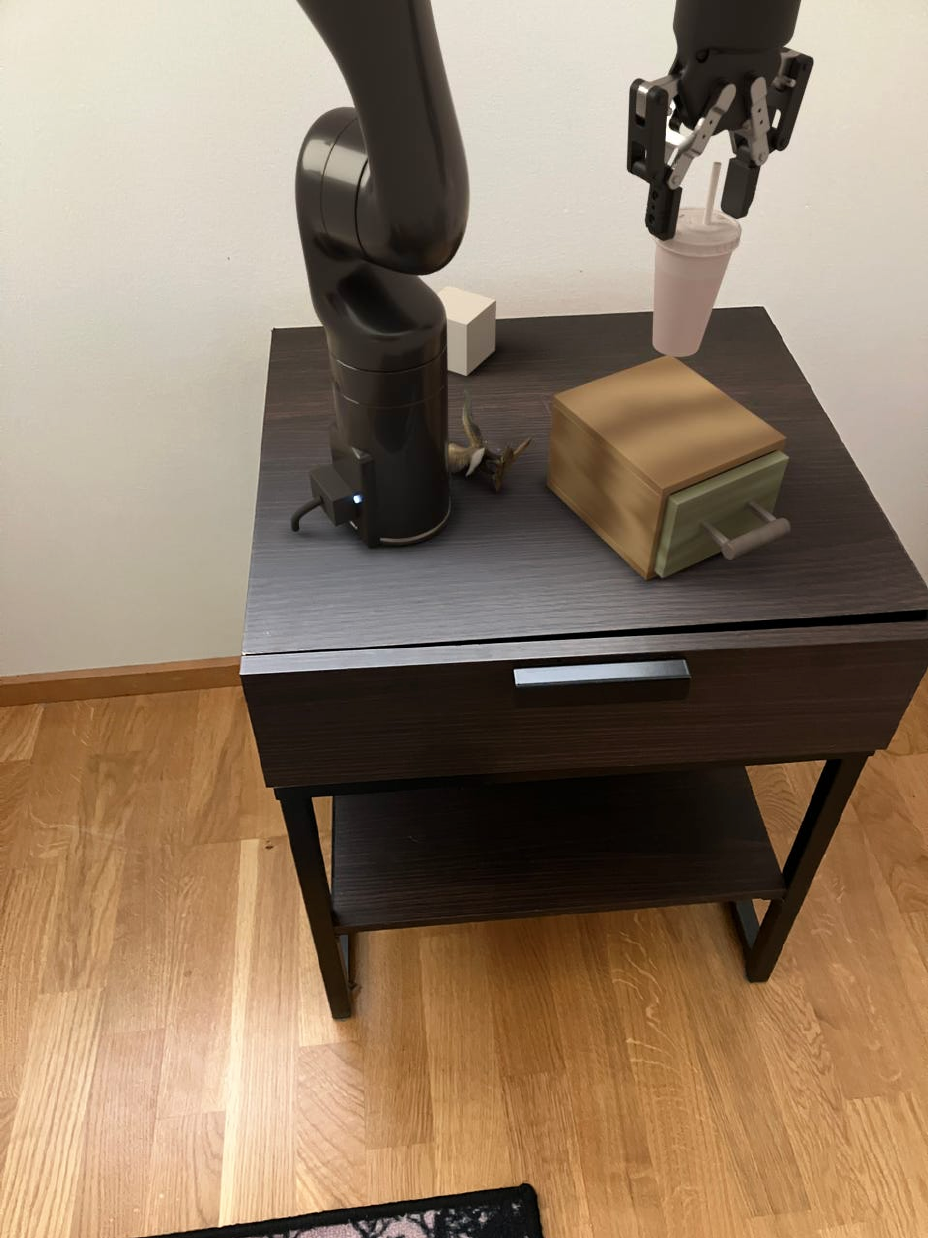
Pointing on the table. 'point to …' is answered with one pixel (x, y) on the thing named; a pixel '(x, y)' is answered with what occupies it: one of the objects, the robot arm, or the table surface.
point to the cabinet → (645, 449)
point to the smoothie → (691, 274)
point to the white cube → (468, 328)
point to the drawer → (723, 515)
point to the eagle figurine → (480, 450)
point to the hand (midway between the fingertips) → (697, 224)
